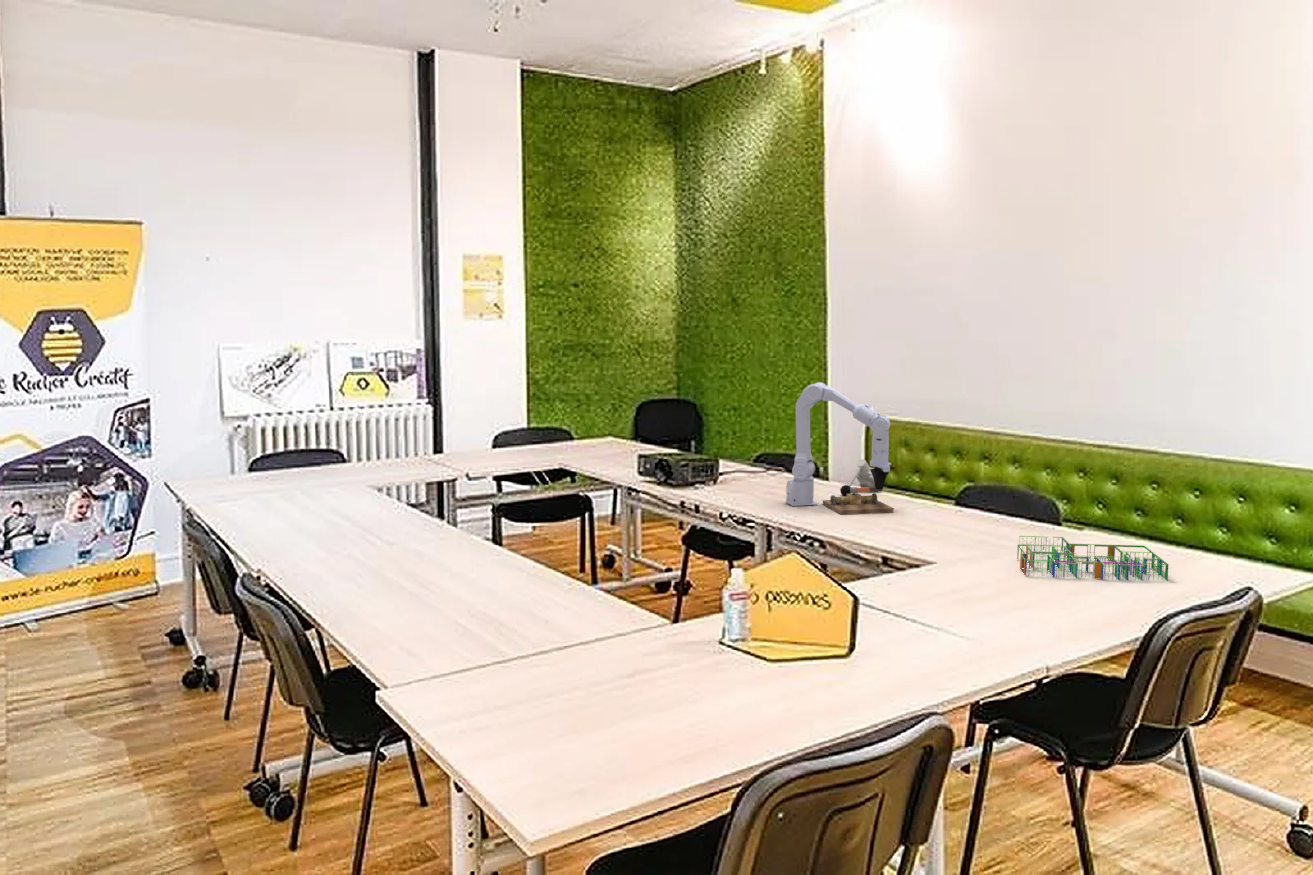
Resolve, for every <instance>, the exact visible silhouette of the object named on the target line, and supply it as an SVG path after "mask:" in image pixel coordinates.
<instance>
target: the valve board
mask: <svg viewBox="0 0 1313 875" xmlns="http://www.w3.org/2000/svg"><path fill="white" fill-rule="evenodd" d="M822 505H823V506H825V507H827V508H828V509H830V510H832V511H834V512H835V513H837V514H839V515H841V516H842V515H843V516H847V515H865V514H866V515H867V514H869V515H870V514H887V513H892V514H893V513H895V512H894V511H895V510H894V507H893V506H890V505H888V504H886V503H884V502H882V501H880V500H878V495H877V493H872V494H871V495H861V494H859V492H858V493H851V494H847V496H836V495H834V494H832V495H831V496H830V499H822Z"/></svg>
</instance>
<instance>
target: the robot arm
mask: <svg viewBox="0 0 1313 875" xmlns="http://www.w3.org/2000/svg"><path fill="white" fill-rule="evenodd" d="M821 401H823V402H834V403H835V404H837V405H839V406H840V407H842V408H844V409H846V410H847V411H849V412H851V414H852V416H853V418H854V419H855V420H857V421H858V422H860V423H861V424H863V425H865V426H867V427H868V428H870V430H871V431H872V437H871V459H870V461H869V467H870V466H871V467H874V468H873V469H870V471H871V473H872V475H873V478H874V483H875V488H876V489H877V490H881V489H882V490H884V486H885V483H886V479H887V477H888V475H889V473H890V472H891V466H892V462H889V452H890V450H889V446H890V445H889V442H890V440H889V439H890V438H889V435H890V433H889V432H890V431H889V429H890V427H891V420H890V419H889V418H888V417H887V416H886V415H885V414H884V415H883V414H882V413H880V411H878V412H876V411H875V410H874V409H872V408H870V405H869V404H867V403H865V404H864V403H860V404H859V403H858V404H857V403H856V402H854V401H853V400H851V399H850V398H848V397H847V396H845V395H844V394H842V392H840V391H838V390H836V389H835V388H834V387H832V386H830V385H827V384H826V383H824V382H821V381H819V382H815V383H812V384H809V385H807V387H805V388H803V390H802V393H801V394H800V396H799V398H798V399H797V400H796V403H795V440H796V441H795V444H796V445H795V446H796V453H795V456H794V464H793V466H792V467H791V468H792V470H791V473H792V476H793V479H789V480H787V481H786V486H785V487H786V490H785V491H786V494H785V495H786V496H785V497H786V500H785V503H787V504H788V505H790V506H791V507H797V506H817V505H818V503H817V502H815V501H814V492H815V491H814V484H815V483H814V479H815V478H814V476H813V474H814V473H815V471H816V465H815V463H814V459H813V455H812V453H811V452H812V450H811V449H812V448H811V409H812V408H813V407H814V406H815V405H816V404H817V403H818V402H821Z"/></svg>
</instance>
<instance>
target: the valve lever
mask: <svg viewBox="0 0 1313 875" xmlns="http://www.w3.org/2000/svg"><path fill="white" fill-rule="evenodd" d="M866 492H869V493H881V492H883V489H881V490H877V489H876V488H875V486H874V487H865V488H861V487H858V486H855V487H854V486H851V488H850V493H851V494H853V493H858V494H859V493H866Z"/></svg>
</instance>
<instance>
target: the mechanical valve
mask: <svg viewBox="0 0 1313 875" xmlns="http://www.w3.org/2000/svg"><path fill="white" fill-rule="evenodd" d="M856 466H857V468H856V470H855V471H854V473H853V475H852V476H851V478H850V480H849V481H848V482H847V484H844V485H842V486H841V487H840V494H841V495H842V497H845V496H847V494H852V493H850V488H851V487H852V485H853V483H854V482H855V480H856V479H857V481H858V482H859V488H865V487H874V486H875V483H874V478H873V475H872V473H871V471H870V469H874V468H873V467H870V464H868V462H867V460H865V459H860V460H858V461H857V463H856Z"/></svg>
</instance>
